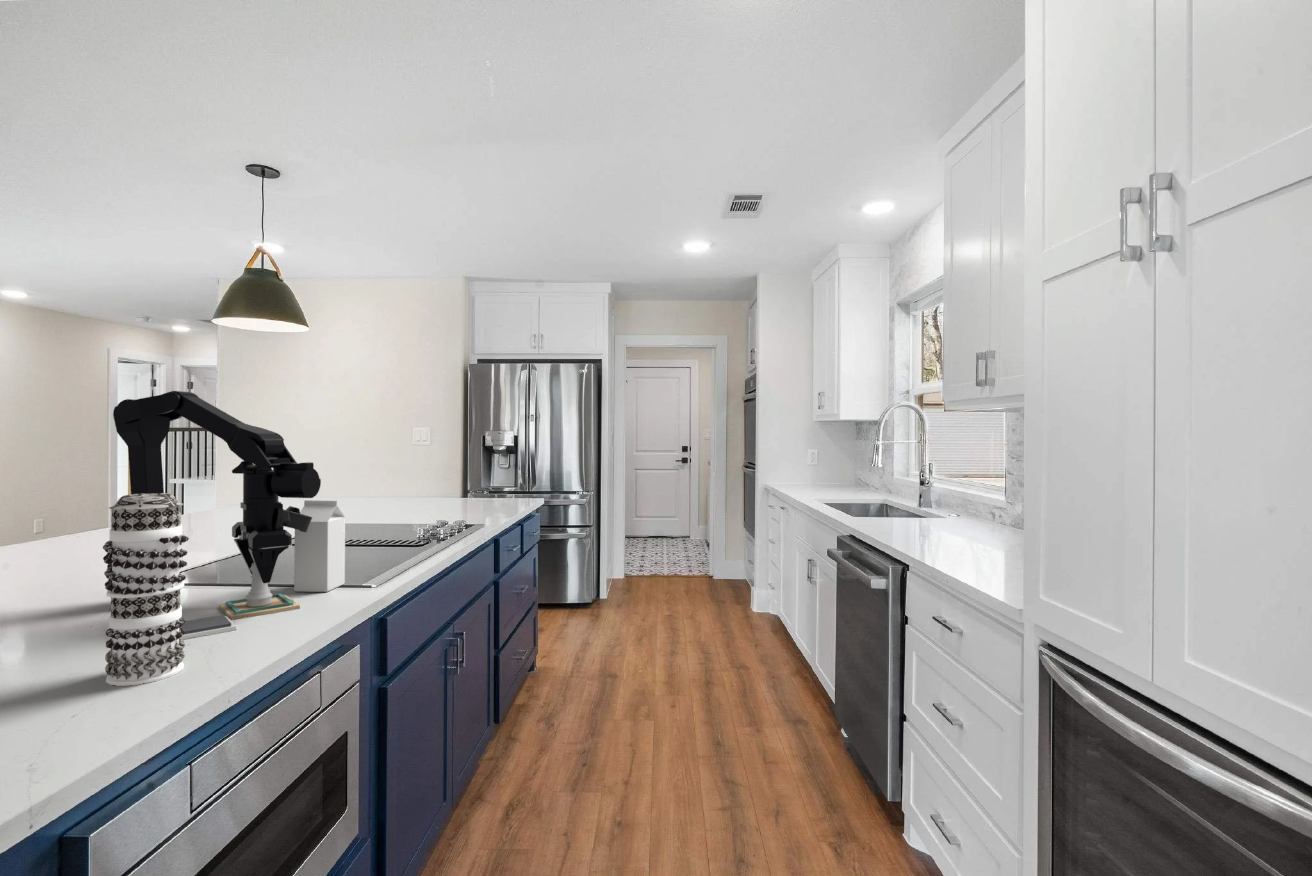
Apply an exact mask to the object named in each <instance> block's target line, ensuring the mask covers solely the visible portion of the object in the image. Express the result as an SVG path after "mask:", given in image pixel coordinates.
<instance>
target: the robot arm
mask: <svg viewBox="0 0 1312 876" xmlns="http://www.w3.org/2000/svg"><path fill="white" fill-rule="evenodd" d="M112 416H113V421H114V425H115V429H116V433H117V434H118V435H119V437H120V438H121V439H122V441H123V442H124V443H125V444H126V446H127V452H128V453H127V454H128V465H129V467H128V469H129V483H130V484H129V485H130V495H132V494H146V493H165V491H164V488H165V487H164V474H163V471H164V470H163V459H162V445H163V442H164V441H165V439H166V438H167V435H169V434H168V433H169V432H170V426H171V422H174V421H176V420H179V419H182V418H184V419H186V420H187V421H190V422H192V423H193V424H194V425H197V426H198V427H201V428H202V429H204V431H207V432H209V433H210V434H213V435H214V436H216V437H217V438H220V439H221V440H222V441H224V442H225V443H226V444H227V446H228V448H229V451H231V452H232V453H233V454H235V456H237V457H238V458H239V459H241V460H242V461H241V462H240V463H239V464H238V465H237V466H236V467H234V468H233V469H231V473H232V474H239V475H240V474H241V475H242V476H243V477H242V479H243V480H242V482H243V483H242V488H243V489H242V501H241V502H240V508H241V509H242V521H237V522H236V523H235V524H234V525H233V526H232V527H231V536H232V538H234V539H233V542H234V544H236V547H237V548H238V550H239V552H240V555H241V556H242V558H243V561H244V563H245V564H246V566H247V568H248V570H249V572H250V574H251V575H252V571H251V570H250V568H251V566H252V563H255V566H256V568H257V570H258V573H259V575H260V578H261V580H262V582H263V583H268V584H269V583H271V580H272V577H273V573H274V570H275V567H276V563H277V561H278V557H279V556H280V554H281V553H283V552H284V551H285V550H287V549H289V547H290V546H291V545H292V539H293V538H292V535H293V534H291V533H290V532H289V531H288V530H286V529H284V527H286V528H290V529H294V530H295V529H298V530H300V531H302V532H307V530H308V527H309V525H310V522H311V520H312V517H310V516H307V515H304V514H300V512H301V510H300V508H298V507H295V506H291V505H289V506H288V507H287V508H286V509H284V505H283V503H282V502H281V501H279V498H284V499H285V498H286V499H287V498H288V499H289V498H290V499H292V498H294V499H313V498H315V497H316V496H317V495H318V493H319V491H320V488H321V485H322V484H321V483H322V480H321V478H320V476H319V473H318V471H317V470H316V469H315V468H314V466H315V465H314V462H309V461H308V462H299V463H298V462H297V461H296V459H295V458H294V457H293V455H292V454H291V452H290V451H289V450H288V448H287V447H286V445H285V441H284V440H285V439H284V438H283V436H282V435H281V434H280V433H277V432H275V431H272V430H269V429H266V428H263V427H259V426H255V425H252V424H248V423H245V422H243V421H241V420H239V419H238V418H236V417H234V416H232V415H230V414H229V413H227V412H225V411H223V410H222V409H220V408H218V407H217V406H215V405H213V404H211V403H209V402H207V401H206V400H204V399H202V398H200V396H198V395H197V394H195V392H191V391H180V390H179V391H178V390H172V391H168V392H165V393H162V394H159V395H152V396H147V397H141V398H137V399H131V398H125V399H123V400H121V401H120V402H119V403H118V404H117V405H116V406H114V408H113V413H112ZM180 546H182V545H181V543H180ZM106 567H107V568H109V567H111V565H109V564H107V566H106ZM107 568H106V569H107Z"/></svg>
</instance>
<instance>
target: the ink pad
mask: <svg viewBox="0 0 1312 876" xmlns="http://www.w3.org/2000/svg"><path fill="white" fill-rule="evenodd" d="M180 628H183V630H184V631H185V634H184V635H182V637H181V638H180V639H182V640H183V641H184V640H188V639H192V638H193V637H194V638H199V637H203V636H204V635H205V636H209V635H215V633H216V634H221V633H226V632H232V631H237V625H236V624H235V623H234V622H233V620H231V619H230V618H229V617H228V616H227V615H226V616H225V614H220V615H212V616H207V617H201V618H195V619H188V620H185V623H184V624H183V625H182V626H181V627H180Z"/></svg>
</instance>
